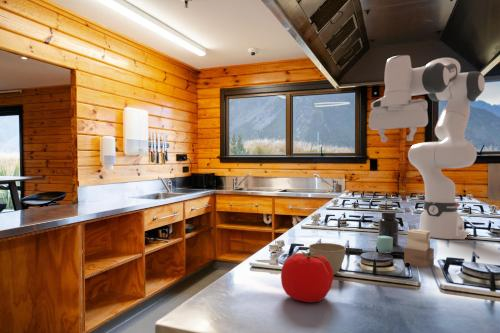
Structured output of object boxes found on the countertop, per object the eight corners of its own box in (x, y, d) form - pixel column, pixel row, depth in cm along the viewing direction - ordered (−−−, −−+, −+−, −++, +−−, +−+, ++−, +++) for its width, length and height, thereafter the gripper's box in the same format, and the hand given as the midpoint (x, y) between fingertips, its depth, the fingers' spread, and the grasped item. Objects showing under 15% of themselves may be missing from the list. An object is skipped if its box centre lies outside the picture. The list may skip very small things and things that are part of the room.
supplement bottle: (400, 247, 126) (400, 213, 126) (380, 246, 127) (380, 213, 127) (396, 242, 133) (396, 211, 132) (377, 241, 134) (377, 210, 134)
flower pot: (346, 269, 100) (347, 244, 100) (344, 280, 91) (344, 252, 90) (311, 265, 103) (311, 241, 103) (305, 276, 94) (305, 249, 94)
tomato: (297, 313, 71) (298, 262, 71) (271, 293, 82) (272, 249, 81) (345, 303, 76) (345, 256, 76) (315, 286, 86) (315, 244, 86)
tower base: (413, 260, 109) (413, 244, 109) (433, 265, 105) (433, 248, 105) (404, 264, 106) (404, 247, 105) (424, 268, 101) (424, 251, 101)
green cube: (382, 249, 123) (382, 235, 123) (395, 252, 119) (395, 237, 119) (374, 251, 120) (374, 237, 119) (387, 254, 116) (387, 239, 116)
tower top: (412, 245, 108) (412, 229, 108) (429, 247, 105) (430, 231, 105) (407, 248, 105) (407, 231, 105) (425, 251, 101) (425, 233, 101)
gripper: (432, 98, 117) (431, 140, 117) (376, 106, 133) (375, 142, 133) (423, 96, 113) (422, 139, 113) (366, 104, 129) (366, 141, 129)
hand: (396, 141), depth 123 cm, fingers open, 8 cm apart
